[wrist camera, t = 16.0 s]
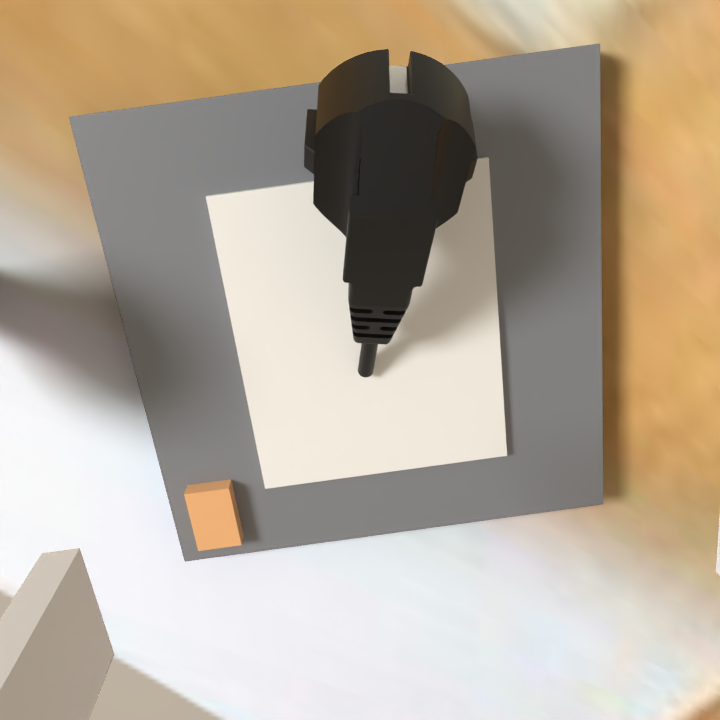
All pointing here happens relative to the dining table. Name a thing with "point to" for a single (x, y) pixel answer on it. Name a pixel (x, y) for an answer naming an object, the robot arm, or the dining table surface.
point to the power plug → (388, 178)
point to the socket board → (333, 322)
